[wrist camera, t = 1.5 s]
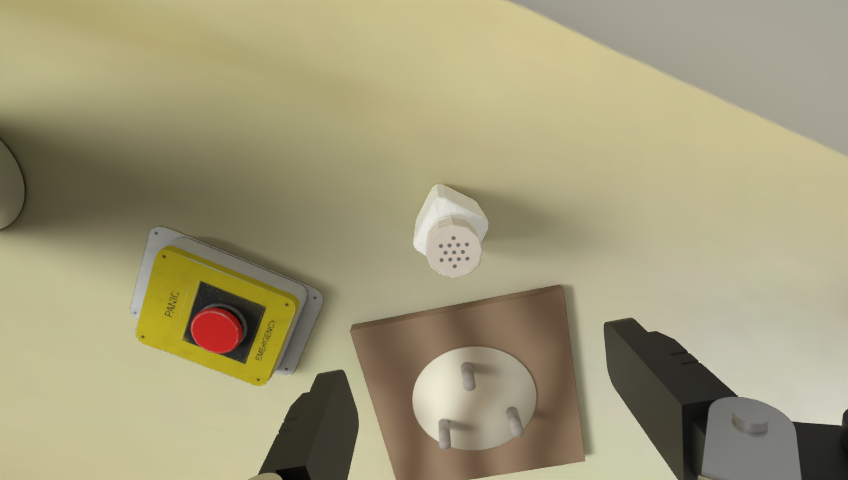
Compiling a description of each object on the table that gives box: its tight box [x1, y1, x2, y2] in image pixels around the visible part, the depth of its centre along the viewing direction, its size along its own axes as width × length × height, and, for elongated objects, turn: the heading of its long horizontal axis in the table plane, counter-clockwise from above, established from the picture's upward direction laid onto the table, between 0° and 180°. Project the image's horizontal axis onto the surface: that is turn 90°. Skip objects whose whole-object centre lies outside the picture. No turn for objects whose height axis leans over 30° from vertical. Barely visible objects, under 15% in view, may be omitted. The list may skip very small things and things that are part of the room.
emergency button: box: [130, 226, 324, 386], centre depth 32 cm, size 9×4×15 cm
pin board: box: [350, 285, 585, 480], centre depth 34 cm, size 18×18×4 cm
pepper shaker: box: [413, 184, 489, 278], centre depth 26 cm, size 4×4×10 cm
